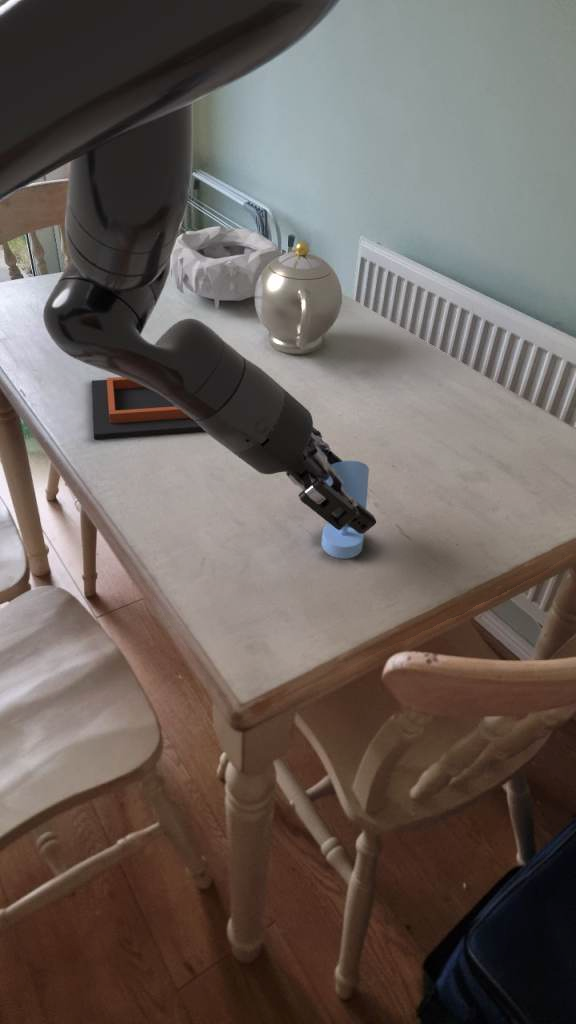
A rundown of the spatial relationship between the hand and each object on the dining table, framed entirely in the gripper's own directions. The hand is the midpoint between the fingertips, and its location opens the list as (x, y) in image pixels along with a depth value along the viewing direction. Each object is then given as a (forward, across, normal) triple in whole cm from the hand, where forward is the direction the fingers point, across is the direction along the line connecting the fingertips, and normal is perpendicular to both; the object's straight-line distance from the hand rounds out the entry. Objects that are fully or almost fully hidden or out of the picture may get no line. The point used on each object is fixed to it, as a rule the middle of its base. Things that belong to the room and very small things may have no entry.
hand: (356, 500), depth 73 cm
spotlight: (+4, 0, -5) cm, 6 cm away
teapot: (+8, -46, -1) cm, 47 cm away
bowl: (+2, -68, -6) cm, 68 cm away
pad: (-10, -31, -17) cm, 37 cm away
